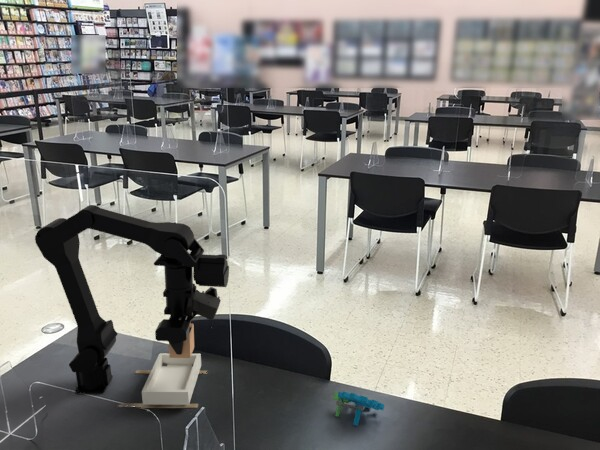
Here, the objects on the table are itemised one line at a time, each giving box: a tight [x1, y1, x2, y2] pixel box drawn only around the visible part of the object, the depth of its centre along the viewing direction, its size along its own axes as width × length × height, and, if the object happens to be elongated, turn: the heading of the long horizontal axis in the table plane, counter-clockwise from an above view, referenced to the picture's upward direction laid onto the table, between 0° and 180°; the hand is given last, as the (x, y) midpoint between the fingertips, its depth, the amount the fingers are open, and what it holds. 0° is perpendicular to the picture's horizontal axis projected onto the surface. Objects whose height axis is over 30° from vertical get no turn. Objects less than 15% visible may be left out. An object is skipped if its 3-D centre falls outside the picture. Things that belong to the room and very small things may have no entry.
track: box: [118, 369, 208, 409], centre depth 116 cm, size 17×14×1 cm
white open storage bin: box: [141, 352, 202, 405], centre depth 115 cm, size 10×15×4 cm, turn 0°
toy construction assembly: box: [333, 391, 385, 427], centre depth 106 cm, size 11×6×10 cm
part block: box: [168, 323, 195, 358], centre depth 112 cm, size 4×4×6 cm
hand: (181, 348), depth 113 cm, fingers closed on part block, 4 cm apart
